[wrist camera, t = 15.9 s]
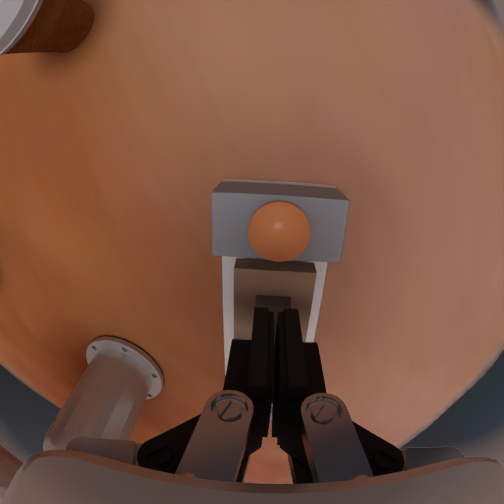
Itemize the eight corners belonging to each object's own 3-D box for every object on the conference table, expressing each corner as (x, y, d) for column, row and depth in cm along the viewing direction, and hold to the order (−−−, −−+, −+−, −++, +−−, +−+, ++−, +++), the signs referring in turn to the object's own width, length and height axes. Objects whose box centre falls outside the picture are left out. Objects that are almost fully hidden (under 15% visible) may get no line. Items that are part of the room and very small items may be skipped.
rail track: (295, 407, 39) (296, 440, 33) (228, 403, 39) (222, 436, 34) (333, 184, 26) (349, 200, 20) (224, 178, 26) (211, 192, 21)
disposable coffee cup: (67, 79, 23) (-14, 75, 12) (32, 46, 20) (-39, 39, 9) (121, 9, 19) (52, -29, 8) (78, -16, 17) (15, -45, 6)
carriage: (303, 331, 30) (310, 399, 21) (236, 327, 30) (223, 394, 22) (314, 262, 26) (329, 323, 18) (236, 258, 27) (220, 317, 18)
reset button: (304, 250, 24) (307, 263, 21) (249, 247, 24) (247, 260, 22) (309, 197, 22) (313, 205, 20) (251, 193, 22) (248, 201, 20)
